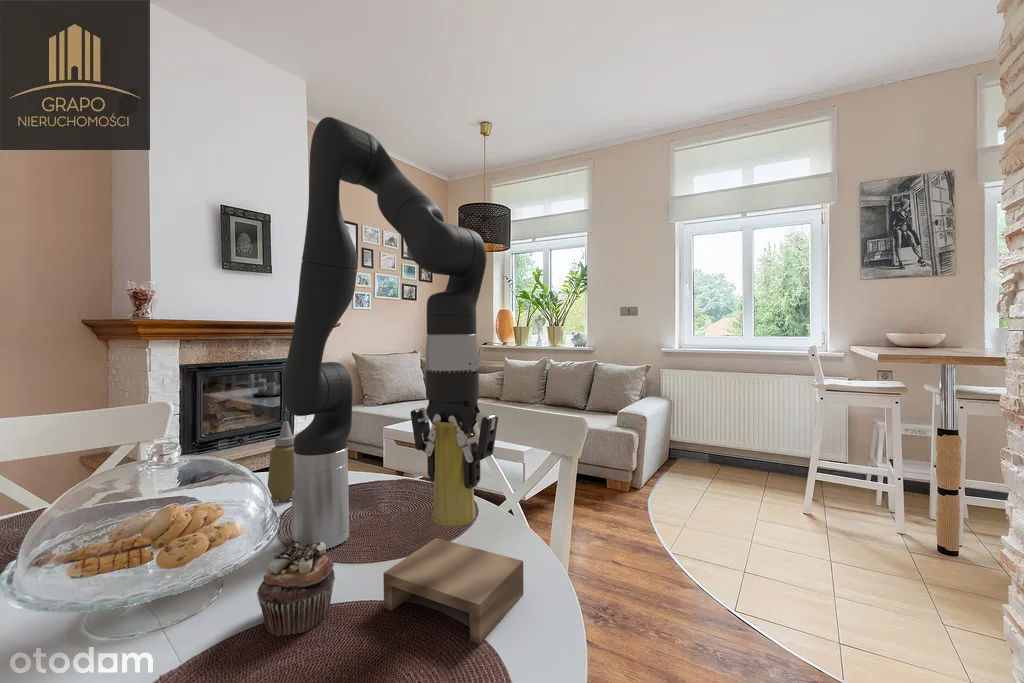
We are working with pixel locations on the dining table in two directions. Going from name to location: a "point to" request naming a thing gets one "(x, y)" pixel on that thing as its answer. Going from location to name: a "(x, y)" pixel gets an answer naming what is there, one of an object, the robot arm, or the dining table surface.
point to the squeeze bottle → (282, 465)
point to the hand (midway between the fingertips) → (453, 483)
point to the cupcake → (297, 589)
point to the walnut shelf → (458, 582)
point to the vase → (451, 479)
